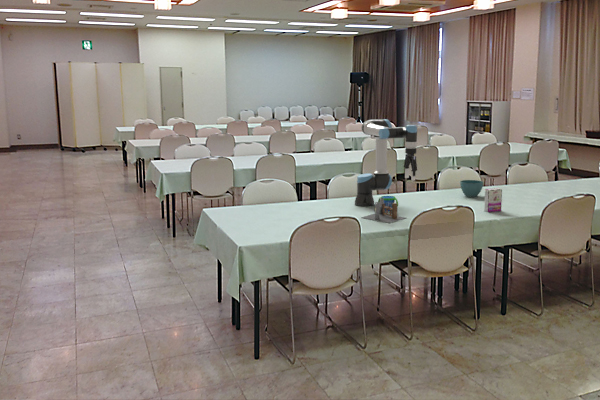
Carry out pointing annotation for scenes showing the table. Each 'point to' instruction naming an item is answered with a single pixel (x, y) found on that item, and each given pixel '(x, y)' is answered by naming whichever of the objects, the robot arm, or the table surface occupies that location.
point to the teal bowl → (471, 187)
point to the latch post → (377, 210)
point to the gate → (394, 210)
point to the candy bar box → (493, 200)
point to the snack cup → (389, 201)
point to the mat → (383, 218)
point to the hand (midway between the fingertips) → (410, 179)
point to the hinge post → (381, 205)
